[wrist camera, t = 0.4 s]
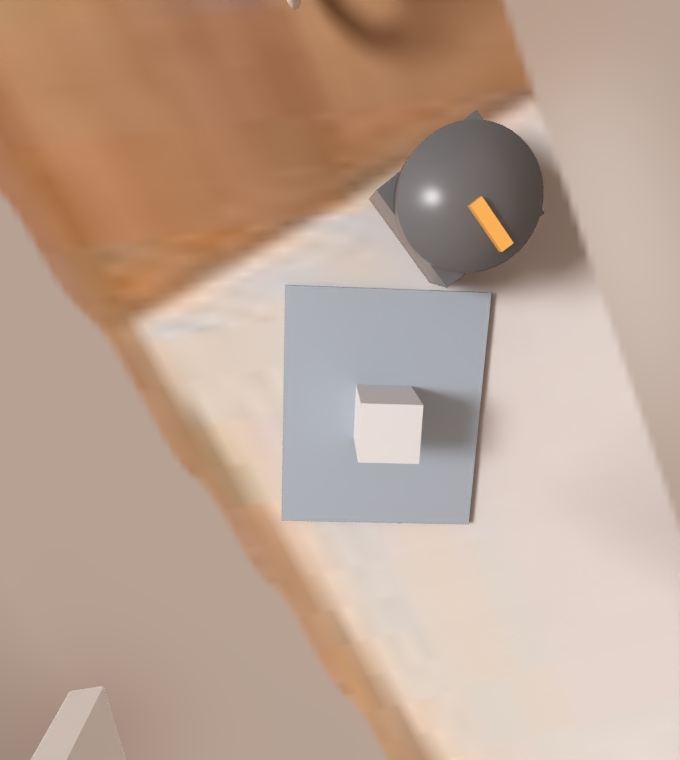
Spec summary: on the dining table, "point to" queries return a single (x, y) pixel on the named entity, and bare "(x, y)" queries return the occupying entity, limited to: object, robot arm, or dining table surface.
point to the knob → (464, 199)
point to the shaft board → (380, 357)
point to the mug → (294, 3)
